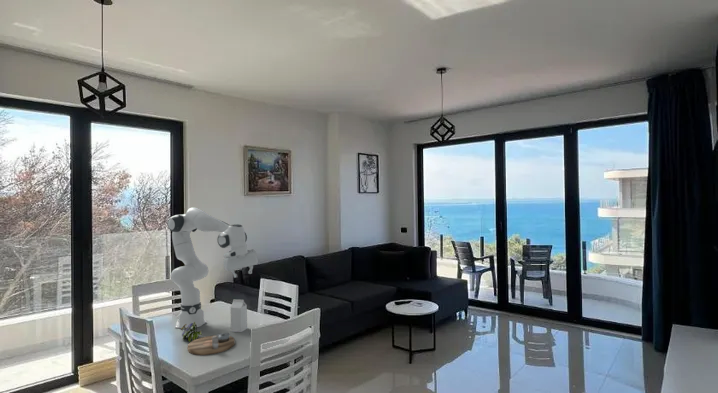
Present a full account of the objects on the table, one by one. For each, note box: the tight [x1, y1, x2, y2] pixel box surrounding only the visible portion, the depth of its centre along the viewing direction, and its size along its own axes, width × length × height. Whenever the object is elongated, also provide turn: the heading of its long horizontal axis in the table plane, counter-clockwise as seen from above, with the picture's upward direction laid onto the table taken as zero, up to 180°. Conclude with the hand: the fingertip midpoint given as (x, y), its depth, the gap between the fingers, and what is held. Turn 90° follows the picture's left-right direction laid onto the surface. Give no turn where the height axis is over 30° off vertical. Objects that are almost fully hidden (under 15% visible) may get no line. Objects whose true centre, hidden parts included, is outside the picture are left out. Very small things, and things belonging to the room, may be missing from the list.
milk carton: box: [229, 299, 248, 333], centre depth 247 cm, size 7×7×19 cm
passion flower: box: [180, 322, 203, 343], centre depth 233 cm, size 11×11×12 cm
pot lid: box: [215, 332, 230, 343], centre depth 223 cm, size 7×7×3 cm
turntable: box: [187, 334, 235, 356], centre depth 220 cm, size 24×24×8 cm
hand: (243, 275), depth 234 cm, fingers open, 8 cm apart
